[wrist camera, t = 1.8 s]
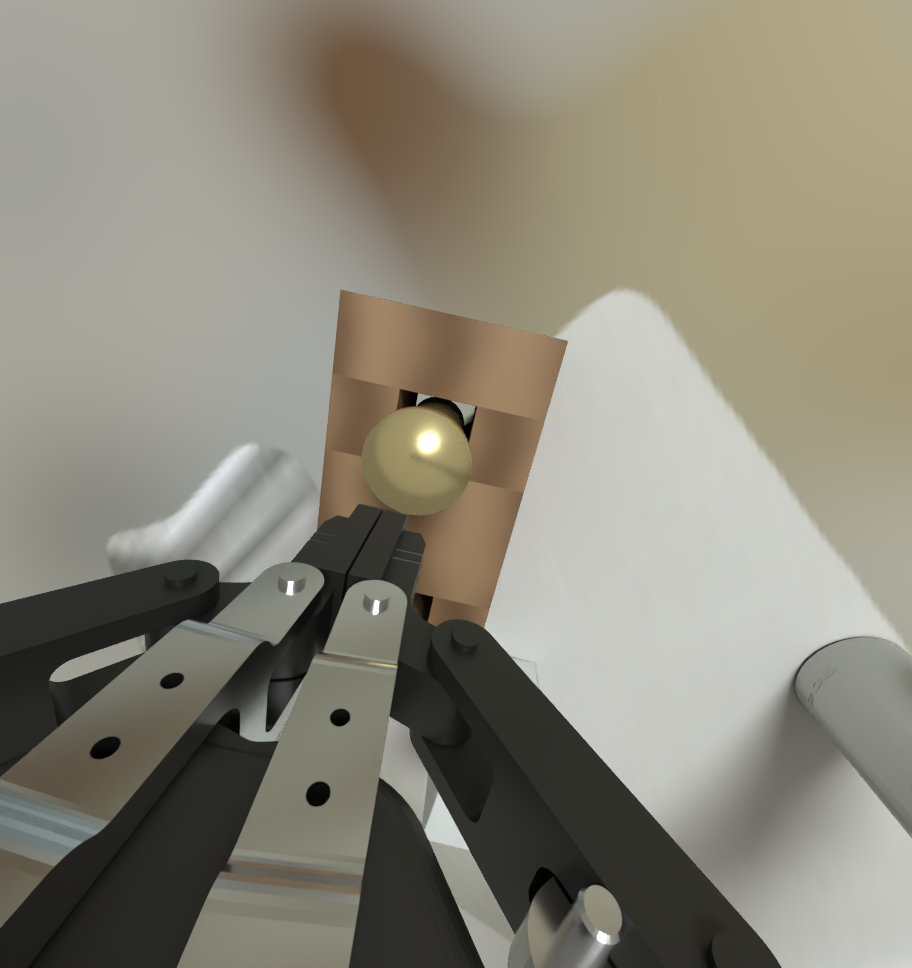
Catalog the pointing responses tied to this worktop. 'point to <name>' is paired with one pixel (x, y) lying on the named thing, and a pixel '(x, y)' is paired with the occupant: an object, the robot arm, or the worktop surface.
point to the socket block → (493, 438)
